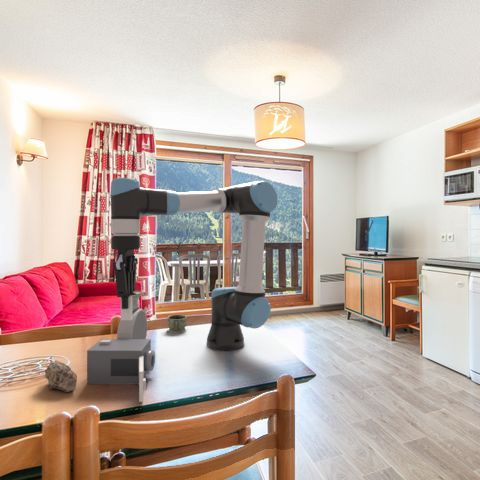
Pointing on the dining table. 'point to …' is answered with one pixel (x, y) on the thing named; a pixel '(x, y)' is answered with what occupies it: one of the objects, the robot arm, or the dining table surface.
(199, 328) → the dining table surface
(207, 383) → the dining table surface
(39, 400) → the dining table surface
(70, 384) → the rock
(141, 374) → the door
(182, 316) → the vessel
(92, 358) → the camera body
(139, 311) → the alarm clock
